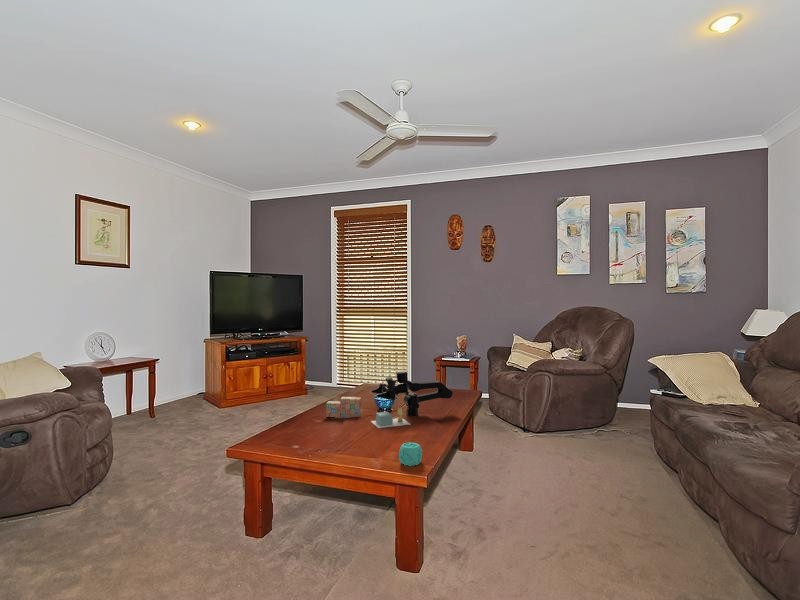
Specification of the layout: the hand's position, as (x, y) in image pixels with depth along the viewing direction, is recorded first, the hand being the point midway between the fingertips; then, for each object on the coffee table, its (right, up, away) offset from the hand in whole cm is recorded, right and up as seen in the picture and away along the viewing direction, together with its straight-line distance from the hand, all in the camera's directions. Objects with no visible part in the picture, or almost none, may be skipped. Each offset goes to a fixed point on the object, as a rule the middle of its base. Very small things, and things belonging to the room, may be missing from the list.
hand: (374, 393), depth 264 cm
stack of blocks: (-20, -17, +10) cm, 28 cm away
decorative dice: (+20, -17, -68) cm, 72 cm away
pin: (+16, -15, -6) cm, 23 cm away
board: (+10, -17, -8) cm, 21 cm away
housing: (+6, -15, -10) cm, 19 cm away
